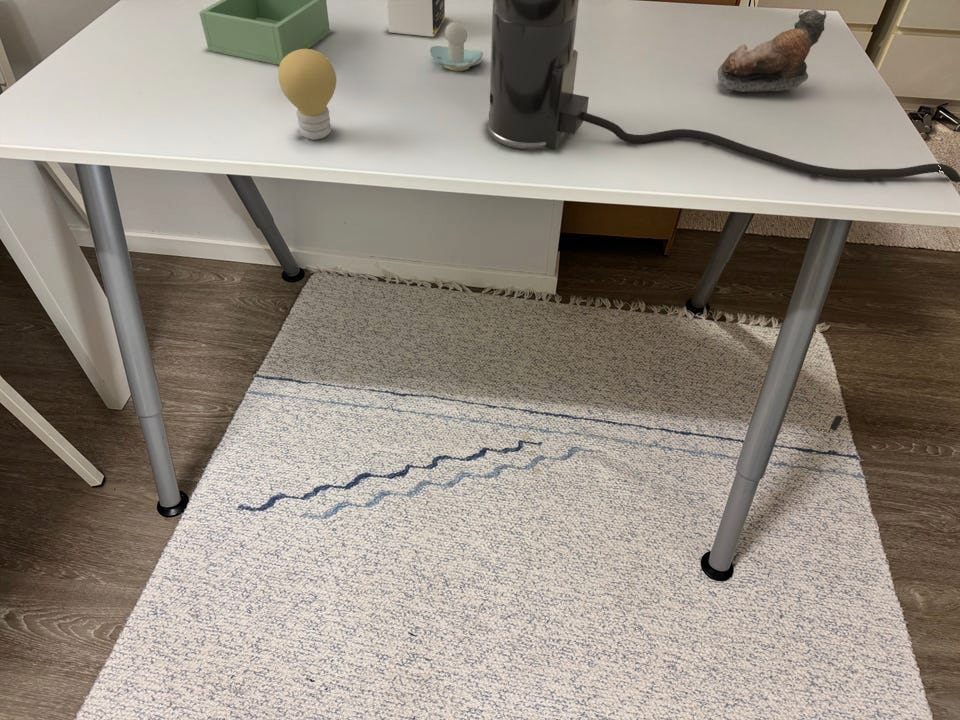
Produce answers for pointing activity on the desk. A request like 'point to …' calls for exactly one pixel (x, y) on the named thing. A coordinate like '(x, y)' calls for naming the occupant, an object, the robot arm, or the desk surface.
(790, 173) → the desk surface
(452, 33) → the pacifier
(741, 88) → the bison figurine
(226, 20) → the green open-top box
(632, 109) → the desk surface
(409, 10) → the white box
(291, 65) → the light bulb
